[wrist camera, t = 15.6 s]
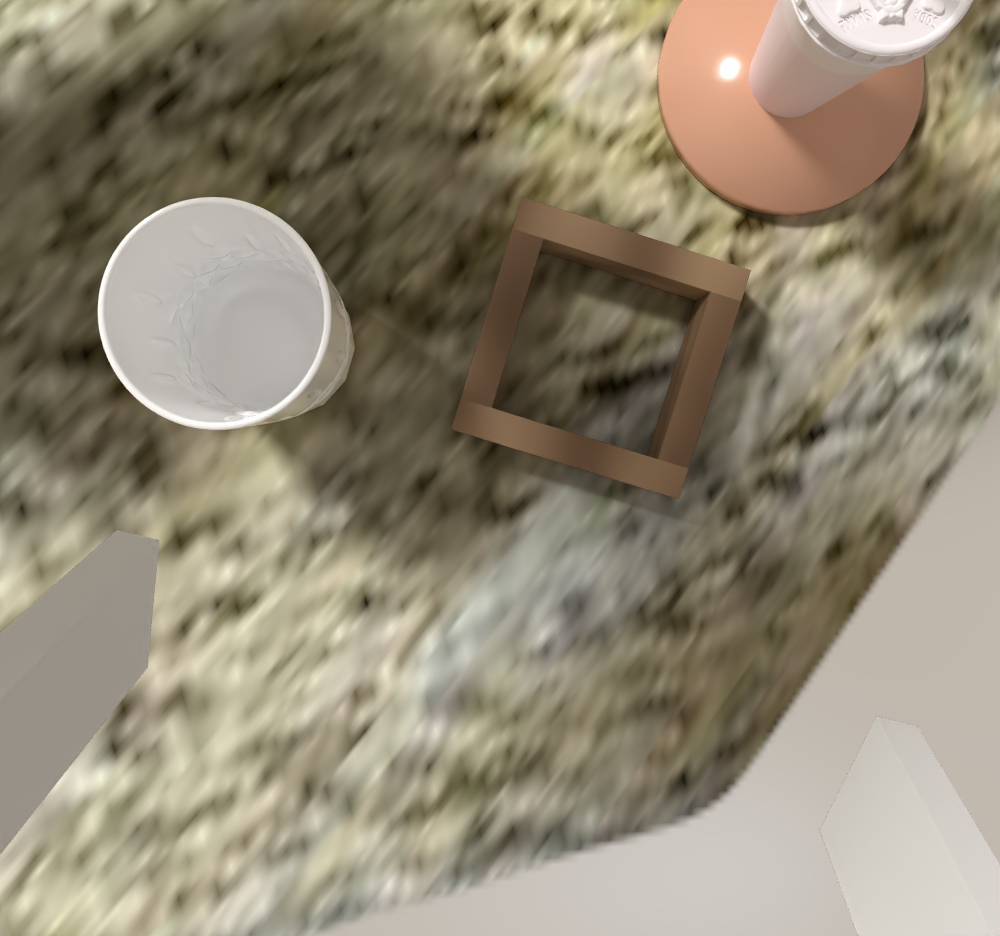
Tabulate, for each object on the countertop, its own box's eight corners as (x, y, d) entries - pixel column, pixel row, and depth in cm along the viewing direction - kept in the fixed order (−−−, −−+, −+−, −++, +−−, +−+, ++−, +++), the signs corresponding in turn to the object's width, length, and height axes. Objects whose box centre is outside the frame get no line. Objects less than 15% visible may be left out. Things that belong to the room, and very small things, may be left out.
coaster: (616, 9, 39) (619, 0, 38) (858, -92, 39) (866, -103, 38) (715, 255, 39) (720, 252, 38) (953, 155, 39) (963, 149, 39)
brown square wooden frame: (452, 429, 39) (451, 429, 37) (518, 211, 39) (521, 196, 36) (665, 494, 40) (678, 499, 37) (733, 280, 39) (750, 270, 37)
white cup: (221, 235, 39) (132, 166, 29) (388, 286, 39) (358, 235, 29) (174, 401, 39) (69, 392, 29) (340, 451, 39) (294, 458, 29)
